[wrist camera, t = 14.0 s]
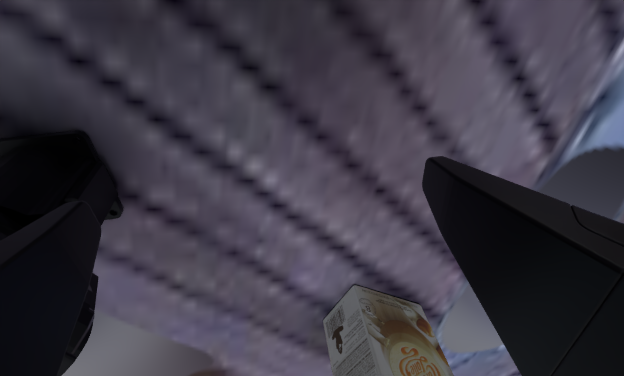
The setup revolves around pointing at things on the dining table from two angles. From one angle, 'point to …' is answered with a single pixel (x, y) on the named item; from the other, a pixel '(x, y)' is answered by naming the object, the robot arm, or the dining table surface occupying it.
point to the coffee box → (381, 337)
